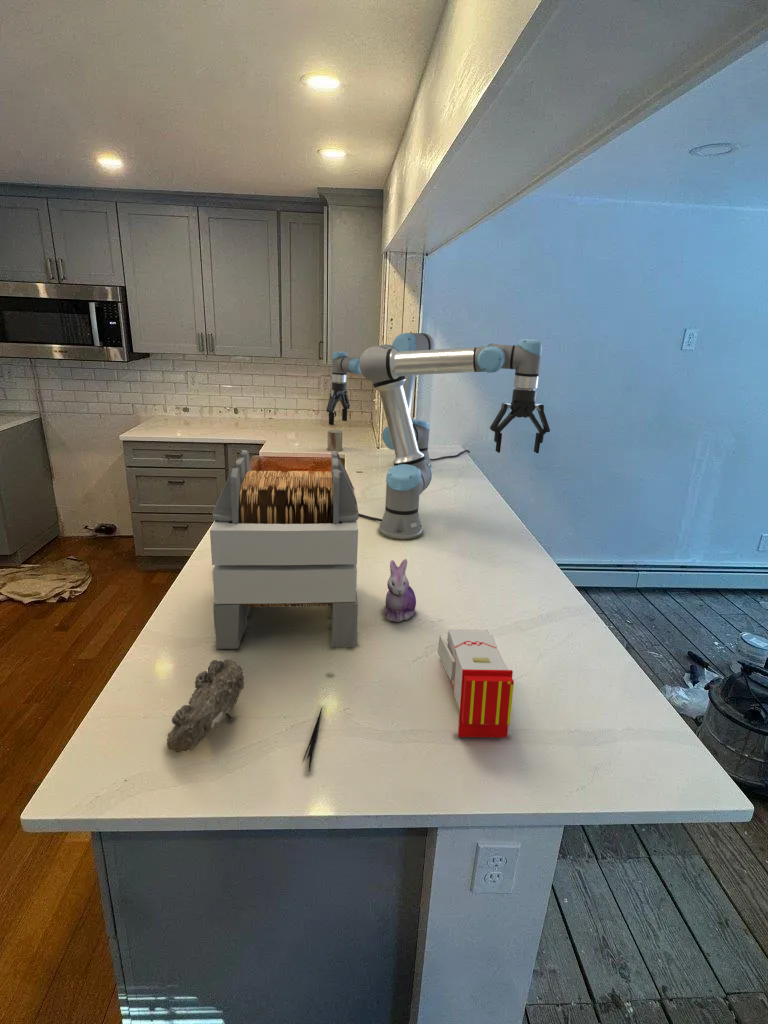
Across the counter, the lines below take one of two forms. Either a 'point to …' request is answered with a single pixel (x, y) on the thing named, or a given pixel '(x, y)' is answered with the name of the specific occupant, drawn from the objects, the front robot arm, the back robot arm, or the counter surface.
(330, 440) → the canister
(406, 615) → the figurine
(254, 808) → the counter surface
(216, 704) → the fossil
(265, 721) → the counter surface
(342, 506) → the record crate
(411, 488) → the front robot arm
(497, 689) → the toy
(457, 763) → the counter surface
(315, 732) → the feather
